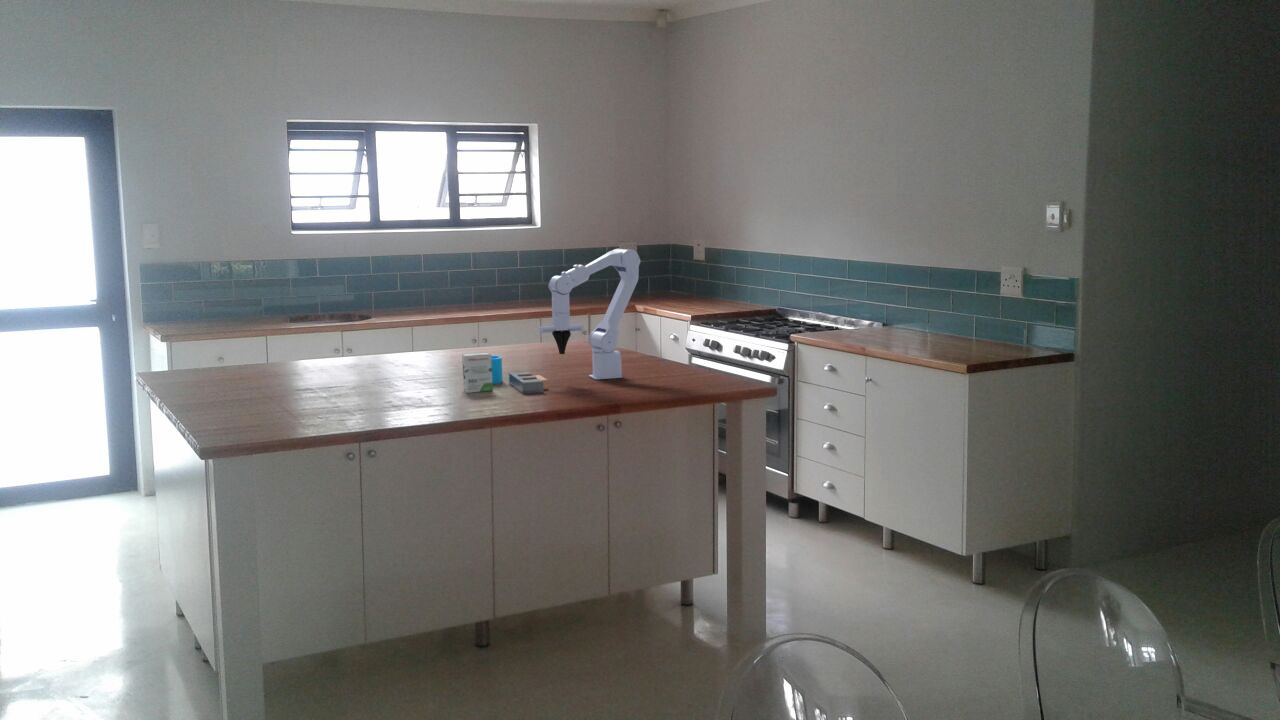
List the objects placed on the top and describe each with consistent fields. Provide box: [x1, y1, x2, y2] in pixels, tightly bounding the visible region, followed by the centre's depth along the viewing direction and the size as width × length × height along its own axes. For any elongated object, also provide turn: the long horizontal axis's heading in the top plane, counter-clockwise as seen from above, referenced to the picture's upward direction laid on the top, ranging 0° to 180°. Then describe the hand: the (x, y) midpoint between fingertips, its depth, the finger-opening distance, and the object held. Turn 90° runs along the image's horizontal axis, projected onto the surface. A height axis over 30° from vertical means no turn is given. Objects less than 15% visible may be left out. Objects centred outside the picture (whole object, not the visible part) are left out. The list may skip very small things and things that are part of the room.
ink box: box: [461, 352, 494, 394], centre depth 358 cm, size 9×5×12 cm, turn 111°
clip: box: [532, 374, 548, 390], centre depth 363 cm, size 8×10×3 cm
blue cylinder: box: [491, 355, 503, 385], centre depth 376 cm, size 12×8×8 cm
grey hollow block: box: [508, 371, 544, 395], centre depth 362 cm, size 6×20×4 cm, turn 19°
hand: (561, 353), depth 371 cm, fingers closed
